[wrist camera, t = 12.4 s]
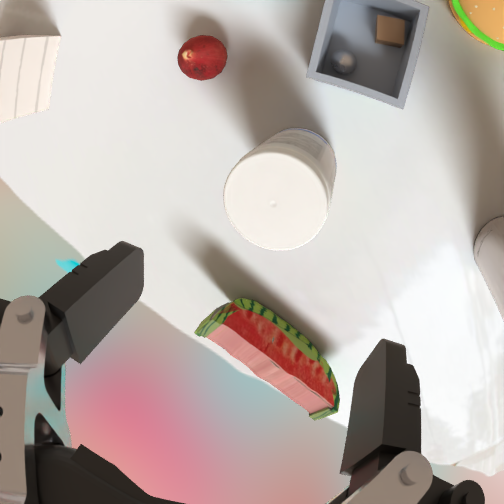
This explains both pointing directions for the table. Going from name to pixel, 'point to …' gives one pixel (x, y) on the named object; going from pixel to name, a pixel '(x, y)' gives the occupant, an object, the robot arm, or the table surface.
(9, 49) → the pizza boxes
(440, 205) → the table surface
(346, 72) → the grey ball
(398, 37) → the walnut block
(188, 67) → the red round fruit
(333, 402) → the fruit slice
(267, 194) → the supplement tub
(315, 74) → the tub
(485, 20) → the hamburger
